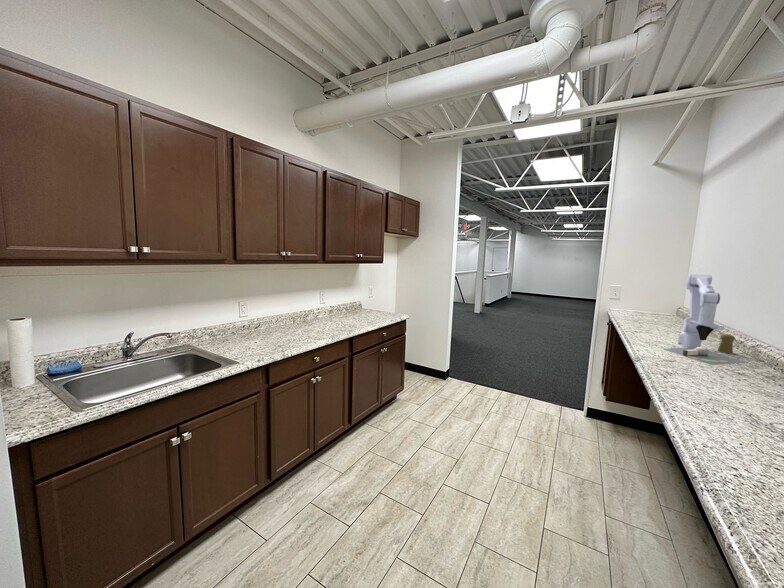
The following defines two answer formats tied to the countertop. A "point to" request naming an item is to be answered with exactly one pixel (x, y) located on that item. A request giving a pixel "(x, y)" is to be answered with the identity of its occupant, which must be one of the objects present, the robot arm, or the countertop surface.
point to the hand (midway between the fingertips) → (702, 340)
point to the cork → (726, 344)
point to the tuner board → (707, 357)
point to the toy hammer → (696, 351)
